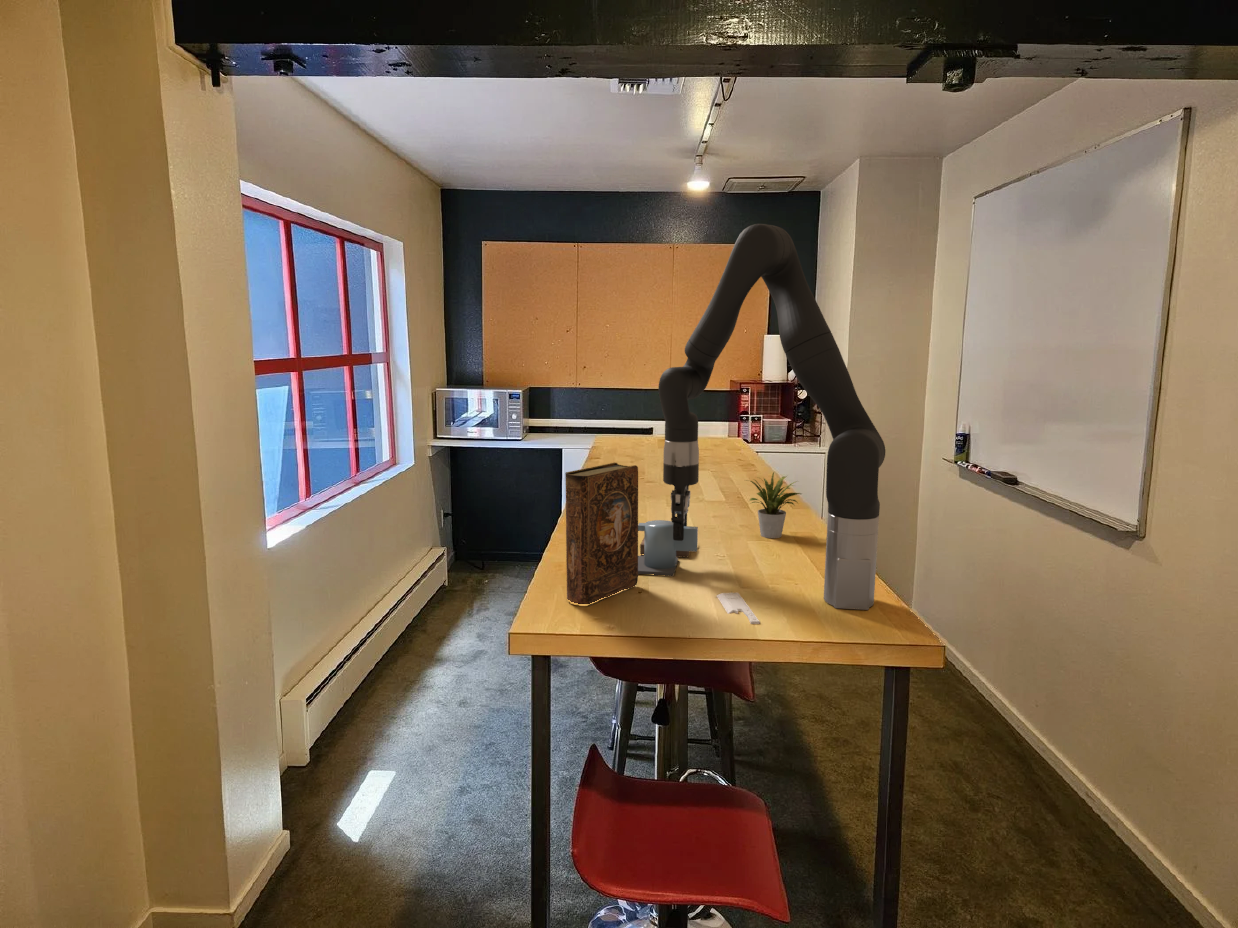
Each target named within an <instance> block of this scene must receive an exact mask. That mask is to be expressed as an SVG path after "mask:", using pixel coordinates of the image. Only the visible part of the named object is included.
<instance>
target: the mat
mask: <svg viewBox="0 0 1238 928" xmlns="http://www.w3.org/2000/svg"><path fill="white" fill-rule="evenodd" d="M678 562H679V557H676V566H675V567H672V568H668V569H654V568H649V567H647V566H645V565H644V555H638V575H639V574H654V575H653V576H658V575H665V576H664V577H674V575H675V572H676V569H677V566H678Z"/></svg>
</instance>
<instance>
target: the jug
mask: <svg viewBox="0 0 1238 928" xmlns="http://www.w3.org/2000/svg"><path fill="white" fill-rule="evenodd" d="M698 528H699V527H698V526H693V525H692V526H689V525H687V526H684V539H683V540H682V541H675V540H674V539H673V522H672V521H671V520H665V519H664V520H663V519H655V520H650V521H649V520H648V521H645V522H638V532H644V533H643V534H644V537H643V538H644V555H643V556H644V565H645V566H647V567H649V568H654V569H668V568H672V567H675V566H676V558H677V557H676V551H689V552H696V553H697V552H698V538H699V537H698V532H699V529H698ZM676 567H677V566H676Z"/></svg>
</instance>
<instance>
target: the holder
mask: <svg viewBox="0 0 1238 928" xmlns="http://www.w3.org/2000/svg"><path fill="white" fill-rule="evenodd" d="M639 549H640V550H639V552H640V553H639V555H640V554H644V537H643V539H642V541H641V543H640V546H639ZM689 555H690V551H676V558H689Z"/></svg>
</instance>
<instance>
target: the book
mask: <svg viewBox="0 0 1238 928" xmlns="http://www.w3.org/2000/svg"><path fill="white" fill-rule="evenodd" d="M564 475H565V538H566V539H565V540H566V541H565V546H566V548H565V549H566V554H565V555H566V600H567V599H568V600H570V601H571V602H574V603H578V604H590V603H592V602H595V601H597V600H599V599H601V598H604V597H608V596H610V595H612V594H615V593H617V592H619V591H621V590H624V589H628V588H630V589H632V588H634V587H636V586H637V584H638V582H639V581H638V579H639V574H638V556H639V531H638V524H639V467H638V465H622V464H618V462H610V463H606V464H601V465H594V466H590V467H585V468H580V469H576V470H572V471H565V474H564ZM635 585H636V586H635ZM633 586H634V587H633ZM631 587H632V588H631ZM628 590H629V589H628Z"/></svg>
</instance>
